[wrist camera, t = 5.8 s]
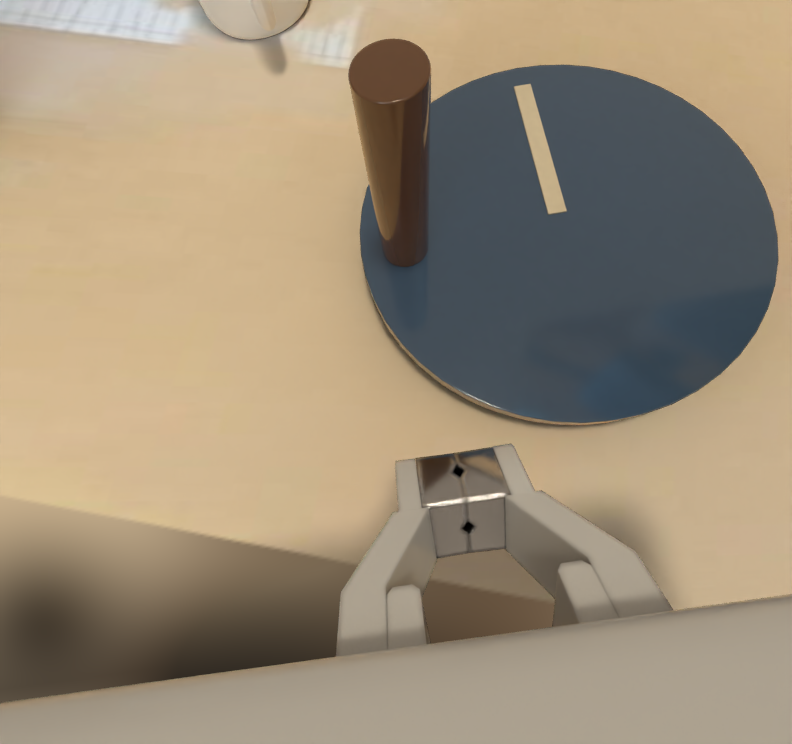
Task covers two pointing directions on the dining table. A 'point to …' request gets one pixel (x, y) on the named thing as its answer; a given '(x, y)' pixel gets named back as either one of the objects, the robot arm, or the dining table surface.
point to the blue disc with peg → (558, 236)
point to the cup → (253, 16)
